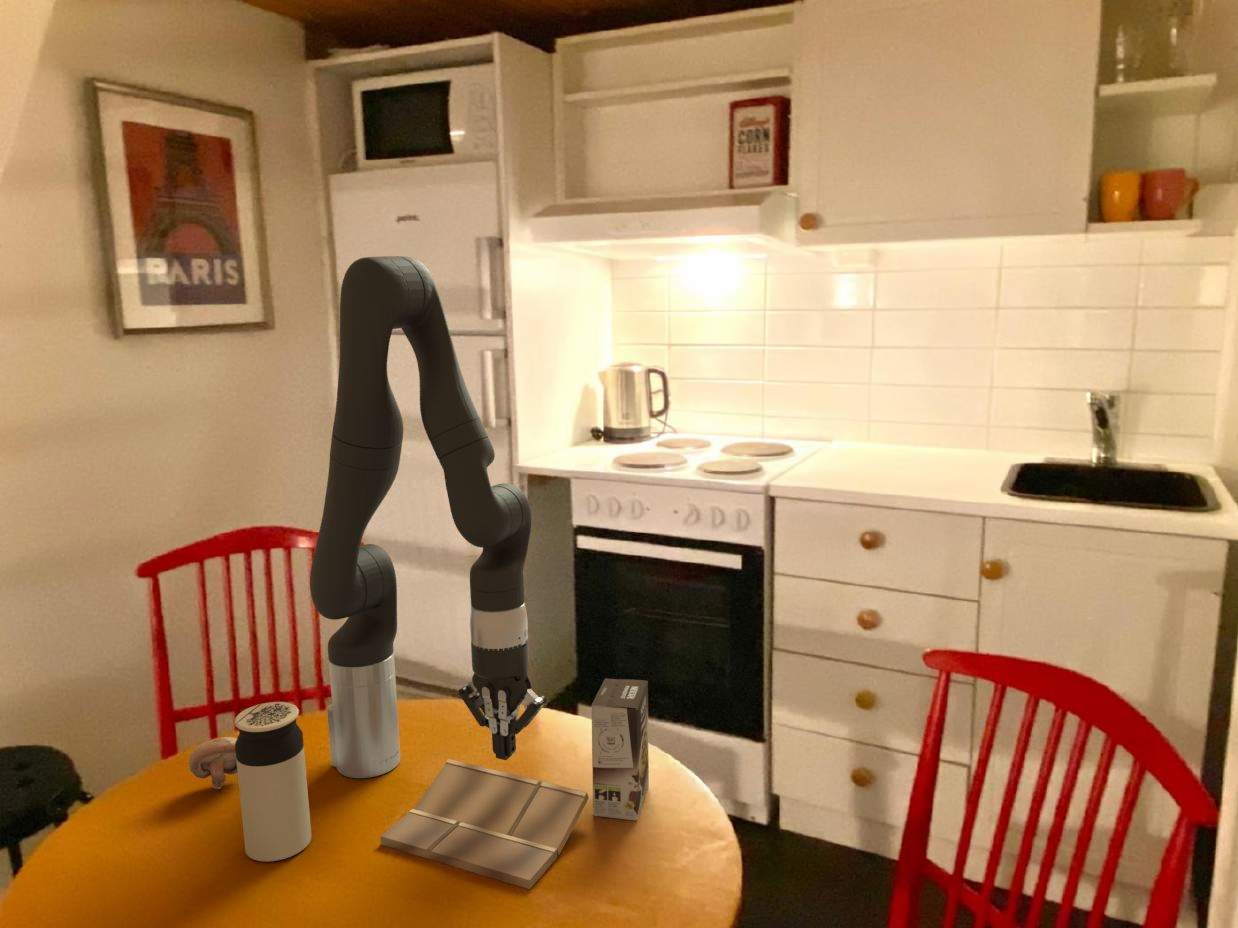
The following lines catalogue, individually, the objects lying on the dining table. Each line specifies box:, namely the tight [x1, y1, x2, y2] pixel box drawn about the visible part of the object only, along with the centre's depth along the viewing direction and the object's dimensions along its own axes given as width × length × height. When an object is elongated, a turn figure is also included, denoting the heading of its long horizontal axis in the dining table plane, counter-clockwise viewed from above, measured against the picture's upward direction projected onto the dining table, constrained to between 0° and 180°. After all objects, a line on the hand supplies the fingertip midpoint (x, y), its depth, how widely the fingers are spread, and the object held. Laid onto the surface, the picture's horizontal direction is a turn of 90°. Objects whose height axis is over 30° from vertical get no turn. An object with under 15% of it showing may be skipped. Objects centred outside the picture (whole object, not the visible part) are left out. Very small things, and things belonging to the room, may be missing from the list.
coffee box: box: [591, 678, 650, 821], centre depth 125 cm, size 9×6×16 cm
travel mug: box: [234, 701, 312, 862], centre depth 116 cm, size 8×8×18 cm
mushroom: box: [188, 736, 238, 790], centre depth 131 cm, size 8×6×8 cm
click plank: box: [413, 758, 590, 856], centre depth 122 cm, size 22×9×1 cm, turn 65°
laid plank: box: [380, 808, 558, 890], centre depth 116 cm, size 22×7×1 cm, turn 65°
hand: (504, 756), depth 124 cm, fingers closed
